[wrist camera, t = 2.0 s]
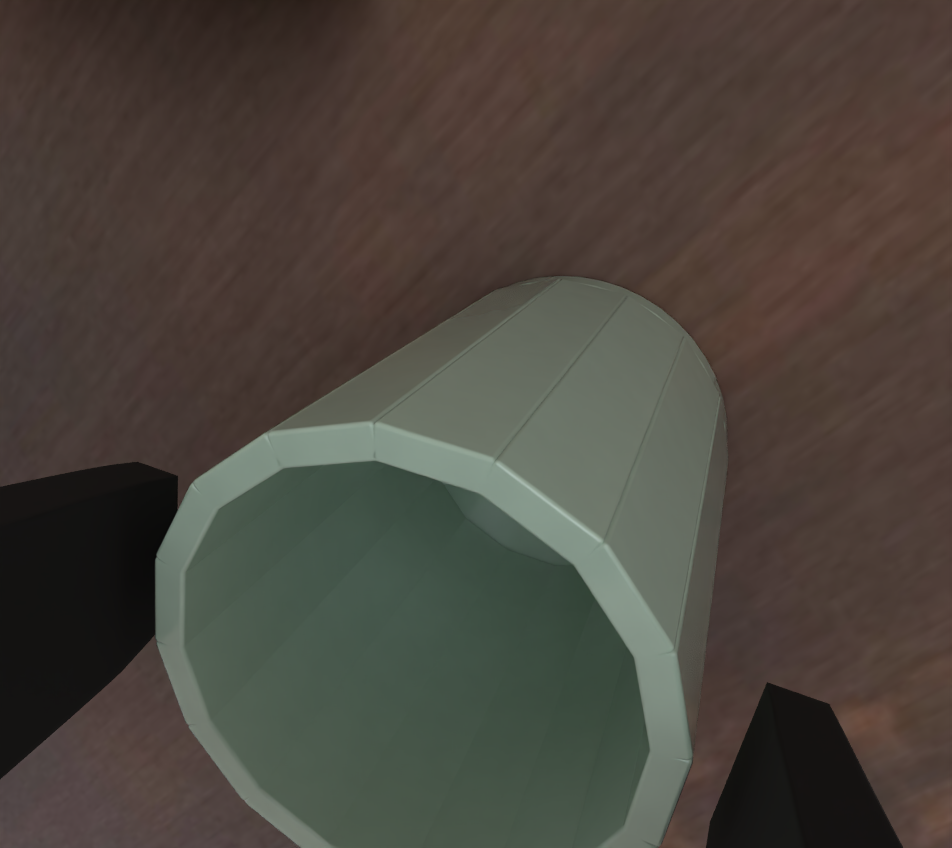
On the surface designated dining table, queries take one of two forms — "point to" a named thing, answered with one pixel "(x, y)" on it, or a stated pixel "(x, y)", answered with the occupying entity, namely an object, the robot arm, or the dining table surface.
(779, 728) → the robot arm
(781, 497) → the dining table surface
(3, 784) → the dining table surface
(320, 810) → the cup
